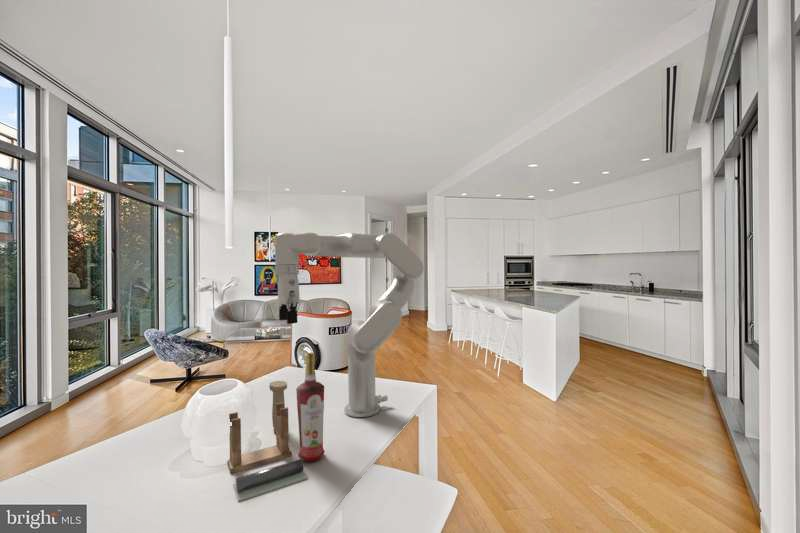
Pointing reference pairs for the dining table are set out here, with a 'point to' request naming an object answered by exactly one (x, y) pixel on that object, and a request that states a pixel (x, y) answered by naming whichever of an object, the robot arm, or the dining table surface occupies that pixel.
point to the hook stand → (262, 455)
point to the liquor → (310, 413)
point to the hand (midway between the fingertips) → (288, 321)
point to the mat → (269, 486)
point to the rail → (269, 475)
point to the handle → (277, 397)
